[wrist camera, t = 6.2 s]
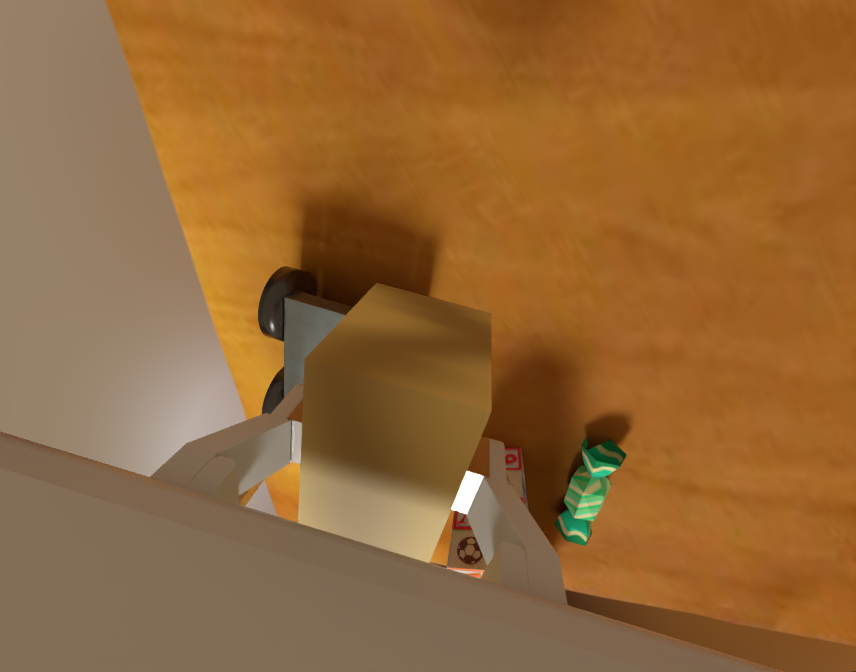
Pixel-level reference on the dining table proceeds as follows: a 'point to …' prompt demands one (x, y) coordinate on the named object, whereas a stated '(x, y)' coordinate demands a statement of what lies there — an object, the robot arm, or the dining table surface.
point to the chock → (393, 419)
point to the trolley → (293, 331)
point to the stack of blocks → (463, 541)
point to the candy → (588, 490)
